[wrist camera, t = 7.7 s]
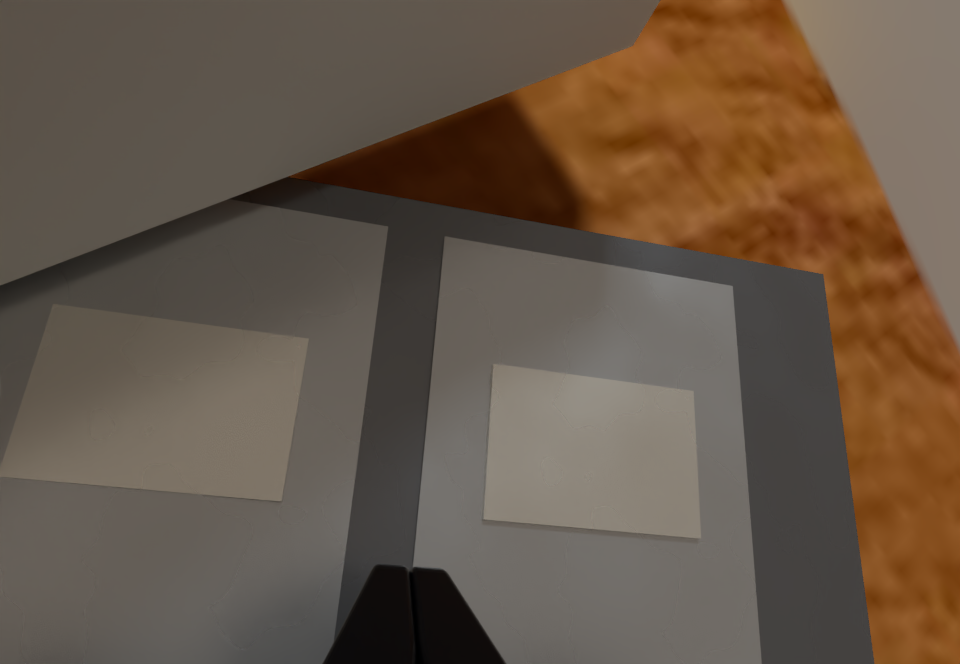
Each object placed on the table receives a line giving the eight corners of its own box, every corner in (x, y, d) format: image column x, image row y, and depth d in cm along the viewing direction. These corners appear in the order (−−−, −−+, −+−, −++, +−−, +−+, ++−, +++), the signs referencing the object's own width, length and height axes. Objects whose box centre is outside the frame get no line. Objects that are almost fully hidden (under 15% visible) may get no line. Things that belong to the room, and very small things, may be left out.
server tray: (797, 717, 15) (893, 748, 12) (-639, 673, 10) (-955, 708, 8) (759, 310, 18) (829, 270, 16) (-316, 132, 14) (-458, 35, 11)
